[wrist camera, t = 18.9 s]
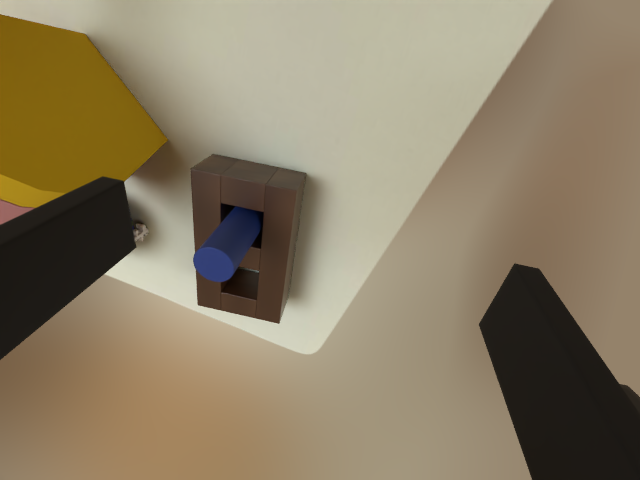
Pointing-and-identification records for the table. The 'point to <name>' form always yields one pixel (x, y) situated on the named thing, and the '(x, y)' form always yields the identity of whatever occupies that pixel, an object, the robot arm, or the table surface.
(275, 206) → the holder
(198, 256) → the blue long cylinder
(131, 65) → the table surface
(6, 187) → the alarm clock
